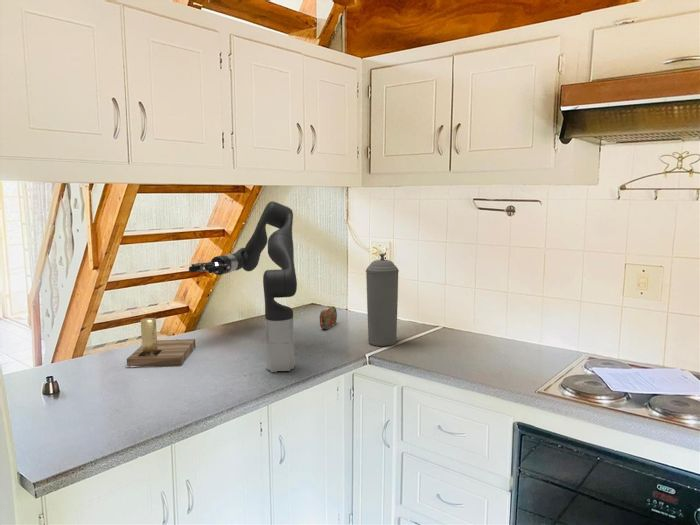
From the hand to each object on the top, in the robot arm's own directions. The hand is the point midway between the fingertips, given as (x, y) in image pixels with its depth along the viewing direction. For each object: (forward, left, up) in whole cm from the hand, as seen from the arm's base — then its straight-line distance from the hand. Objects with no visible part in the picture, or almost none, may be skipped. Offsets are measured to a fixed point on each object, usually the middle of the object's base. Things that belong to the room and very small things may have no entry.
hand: (199, 270), depth 190 cm
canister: (-1, -69, -30) cm, 75 cm away
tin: (+26, -49, -30) cm, 63 cm away
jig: (-9, +12, -30) cm, 34 cm away
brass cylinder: (-14, +15, -30) cm, 36 cm away
